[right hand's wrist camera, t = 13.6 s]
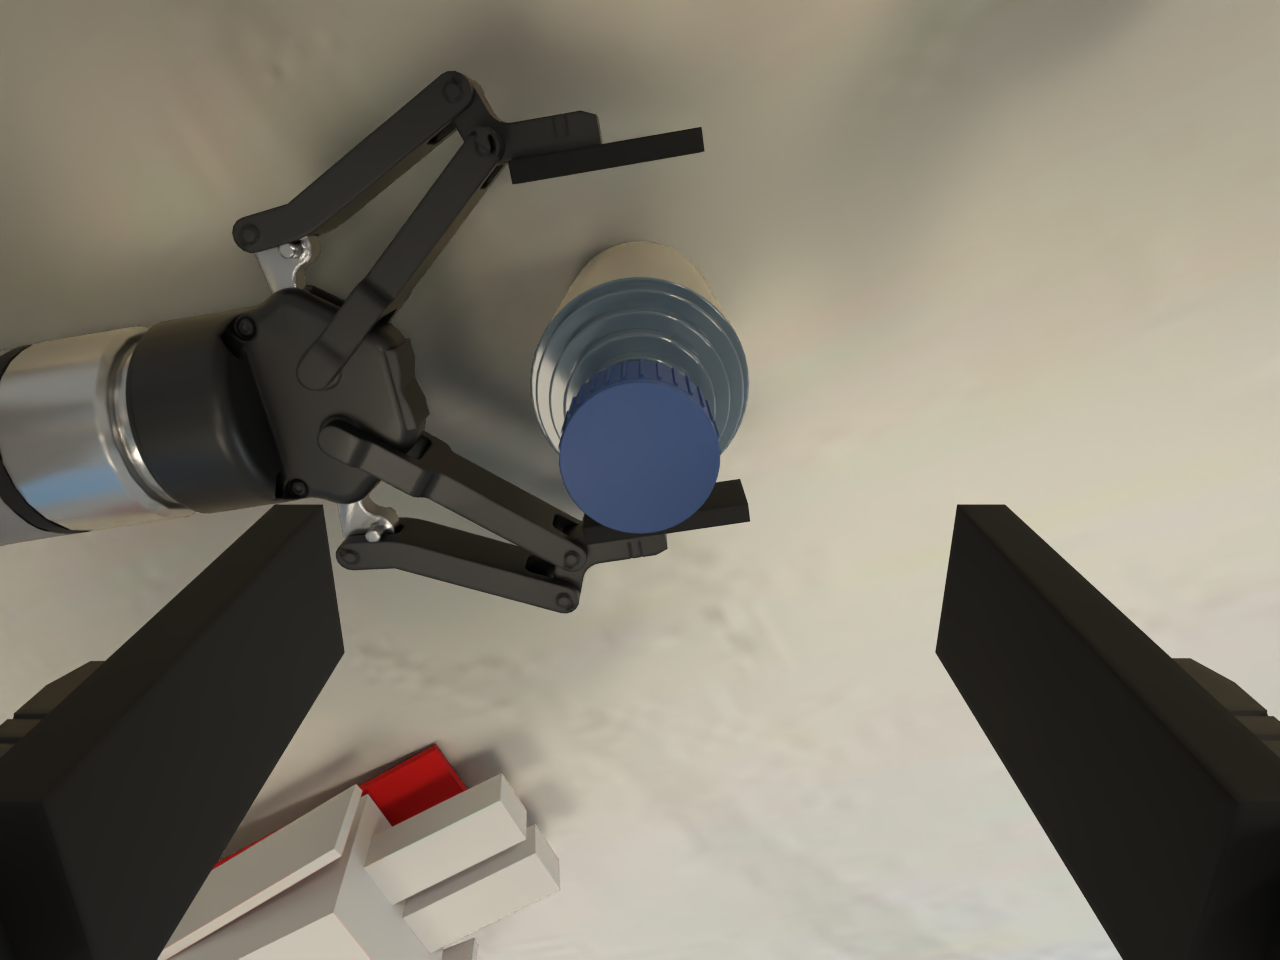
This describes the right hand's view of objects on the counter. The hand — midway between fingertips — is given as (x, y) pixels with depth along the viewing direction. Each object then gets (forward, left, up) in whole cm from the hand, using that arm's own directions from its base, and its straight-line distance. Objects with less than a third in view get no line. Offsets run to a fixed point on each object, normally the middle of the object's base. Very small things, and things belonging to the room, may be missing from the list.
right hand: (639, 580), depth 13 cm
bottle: (0, 0, -25) cm, 25 cm away
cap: (0, 0, -6) cm, 6 cm away
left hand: (-2, +3, -19) cm, 19 cm away
